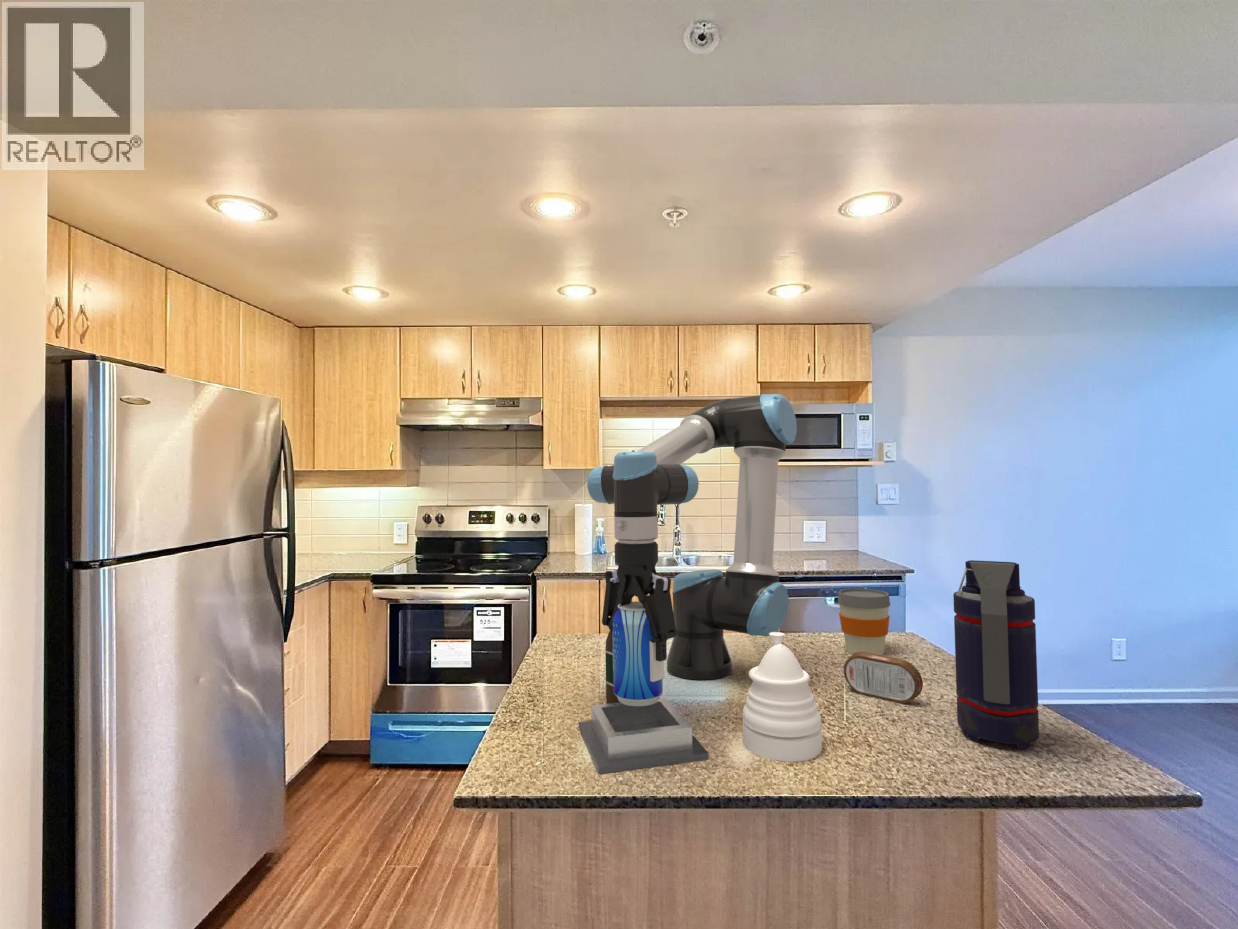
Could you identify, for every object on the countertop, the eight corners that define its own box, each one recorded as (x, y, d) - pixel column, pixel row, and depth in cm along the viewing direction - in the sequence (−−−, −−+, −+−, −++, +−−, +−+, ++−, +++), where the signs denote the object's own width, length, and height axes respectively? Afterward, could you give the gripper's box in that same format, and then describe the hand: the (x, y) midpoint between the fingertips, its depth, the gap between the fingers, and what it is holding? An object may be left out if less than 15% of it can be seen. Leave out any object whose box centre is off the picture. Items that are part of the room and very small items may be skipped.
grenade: (958, 717, 111) (953, 555, 112) (1036, 730, 105) (1030, 558, 106) (956, 747, 100) (950, 564, 100) (1044, 763, 93) (1037, 569, 94)
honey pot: (737, 728, 108) (735, 628, 109) (809, 728, 108) (806, 627, 108) (750, 762, 96) (748, 647, 96) (832, 762, 95) (829, 647, 96)
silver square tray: (672, 717, 114) (672, 693, 114) (708, 759, 97) (708, 731, 97) (578, 727, 110) (578, 702, 110) (598, 774, 92) (598, 744, 92)
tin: (924, 704, 118) (922, 661, 119) (918, 709, 116) (917, 665, 116) (848, 687, 129) (847, 647, 129) (842, 691, 126) (841, 650, 127)
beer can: (659, 709, 98) (657, 611, 99) (608, 706, 100) (607, 609, 100) (665, 692, 107) (664, 601, 107) (619, 689, 108) (617, 599, 109)
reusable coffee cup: (834, 644, 162) (832, 588, 162) (883, 645, 160) (881, 588, 160) (845, 658, 149) (843, 597, 150) (898, 659, 148) (896, 597, 148)
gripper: (580, 539, 109) (581, 665, 109) (667, 547, 94) (669, 694, 93) (610, 536, 114) (612, 656, 114) (697, 543, 99) (700, 682, 98)
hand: (638, 673), depth 103 cm, fingers closed on beer can, 8 cm apart
